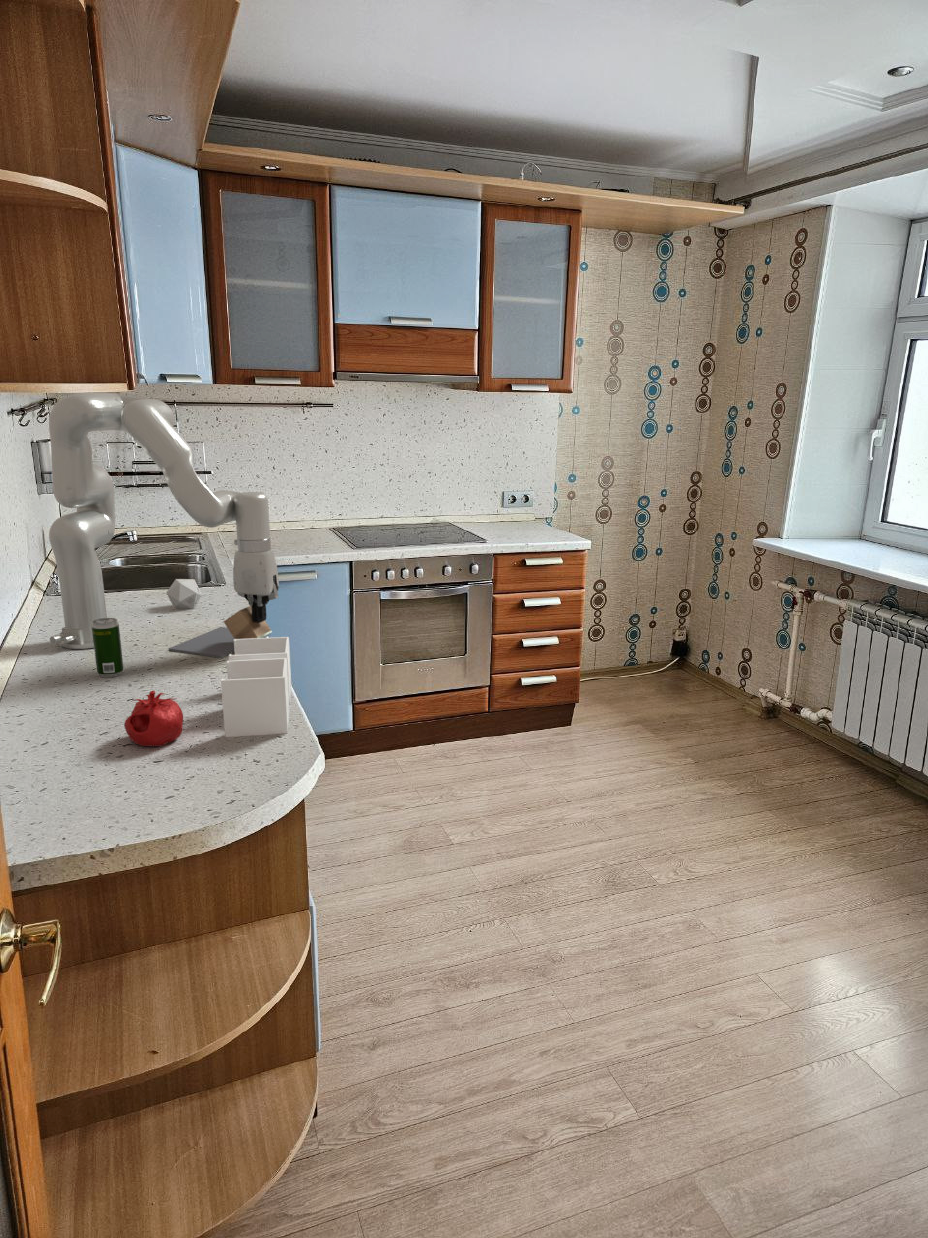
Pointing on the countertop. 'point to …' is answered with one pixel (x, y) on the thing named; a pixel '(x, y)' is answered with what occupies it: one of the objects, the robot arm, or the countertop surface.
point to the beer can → (107, 647)
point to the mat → (209, 644)
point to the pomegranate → (154, 721)
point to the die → (184, 594)
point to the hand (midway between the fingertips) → (259, 621)
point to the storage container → (257, 687)
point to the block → (246, 625)
